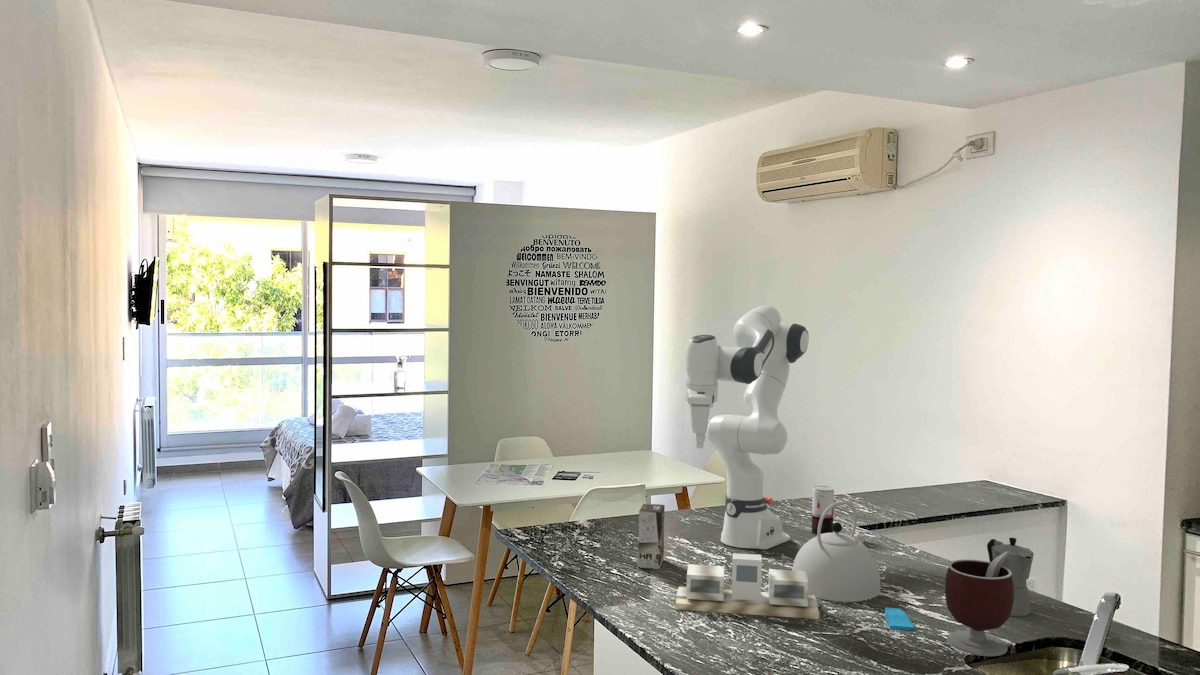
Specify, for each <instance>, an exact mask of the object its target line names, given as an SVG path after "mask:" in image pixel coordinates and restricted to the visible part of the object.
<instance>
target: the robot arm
mask: <svg viewBox="0 0 1200 675" xmlns="http://www.w3.org/2000/svg"><path fill="white" fill-rule="evenodd" d="M732 331H733V332H732V334H733V339H734V342H735V344H736V345H737V346H724V345H723V346H721V345H720V344H718V342H717V340H718V339H717V337H716V336H715V335H712V334H700V335H699V334H697V335H694V336H692V337H690V338H689V340H688V342H687V346H686V348H687V349H686V355H685V356H686V358H685V370H686V378H685V379H686V380H685V391H684V392H685V396H684V398H685V399H684V400H685V401H686V402H687V405H689V407H690V420H691V428H692V433H693V434H695V440H696V449H703V448H704V442H705V440H706V436H707V439H708V441H709V443H710V445H712V446H713V447H714V448H715V449H716V450H717V451H718V453H719V455H720V456H721V458H722V461H723V464H724V467H725V471H726V472H725V473H726V495H725V500H724V502H725V503H724V507H725V513H724V519H723V527H722V531H721V532H720V533H721V534H720V536H721V537H720V542H721V543H722V544H724V545H727V546H730V547H734V548H740V549H741V548H742V549H758V550H768V549H771V548H773V547H775V546H778V545H781V544H783V543H786V542H789V541H790V540H791V536H790V535H789V534H787V533H785V532H784V531H783V523H782V520H781V518H779V517H778V516H777V515H776V514H774V513H773V512H772V511H771V510H770V509H769V508H768V505H772V504H773V503H774V499H773V497H769V496H766V497H764V478H765V477H764V476H765V475H764V473H763V470H762V469H761V468H760V466H758V465H757V464H756V463H754V462H753V460H752V459H751V457H750V454H756V455H762V456H764V455H776V454H780V453H781V452H782V451H783V450H784V449H785V447H786V445H787V443H788V432H787V429H786V427H785V425H784V424H783V423H782V422H781V420H780V419H779V416H778V409H779V405H780V402H781V399H782V396H783V394H784V392H785V389H786V386H787V383H788V380H789V374H790V370H791V369H790V364H795V363H796V361H798V359H800V358H802V356H804V354H805V353H806V352H807V350H808V346H809V341H810V337H809V331H808V330H807V328H806V327H805V326H803V325H801V324H798V323H794V322H793V323H790V322H785V321H782V320H781V315H780V313H779V311H778V310H777V309H776V308H774V306H771V305H767V304H766V305H765V304H764V305H760V306H757V307H754V308H752V309H751V310H749V311H747V312H746V313H745V314H744V315H742V316H740V318H738V320H737V321H736V322H735V324H734V327H733V330H732ZM718 381H721V382H723V381H724V382H731V383H733V382H734V383H740V384H747V386H746V389H745V391H744V393H743V403H744V405H745V407H746V408H747V409H748V411H750V412H751V414H750V415H747V416H746V415H739V414H737V415H736V414H729V413H727V414H726V413H725V414H720V415H719V414H718V415H714V416H713V417H712V418H711V419H710V410H711V408H713V407H714V403H718V401H719V382H718ZM749 453H750V454H749ZM767 504H768V505H767Z"/></svg>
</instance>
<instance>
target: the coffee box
mask: <svg viewBox="0 0 1200 675" xmlns="http://www.w3.org/2000/svg"><path fill="white" fill-rule="evenodd" d="M637 549H638V550H637V552H638V555H637V568H639V567H640V568H639V569H642V568H643V569H651V568H652V569H653V570H660V569H661V567H662V564H663V562H664V561H665V560H664V559H665V504H656V503H655V504H654V503H653V504H652V503H651V504H650V503H649V504H647V503H643V504H642V506H641V507H640V509H639V510H638V547H637Z"/></svg>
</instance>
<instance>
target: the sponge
mask: <svg viewBox="0 0 1200 675" xmlns="http://www.w3.org/2000/svg"><path fill="white" fill-rule="evenodd" d="M883 612H884V614H885V615H884V616H885V617H886V620H887V621H886V622H887V623H888V627H889V629H892V630H903V631H915V630H916V627H915V625H914V624H913V623H912V621H911V619H910V618H909V616H908V615H907V613H906V612H905V611H904V610H902V609H901V608H898V607H887V606H886V607H885V608H884V610H883Z"/></svg>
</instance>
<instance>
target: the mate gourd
mask: <svg viewBox="0 0 1200 675" xmlns="http://www.w3.org/2000/svg"><path fill="white" fill-rule="evenodd" d="M1007 555H1010V553H1009V552H1008V551H1007V552H1005V553H1003V554H1001V555H1000V556H998V557H996V558H995V559H994V560H993V561H992V562H990V561H986V560H978V559H956V560H953V561H950V562H949V563H948V568H947V571H946V575H945V581H944V596H945V603H946V607H947V610H948V612H950V614H951V615H952V617H953V619H954V620H955V621H956V622H958V623H960V624H961V625H964V626H965V627H968V628H969V629H970V630H958V631H957V630H956V631H953V632H950V633H949V634H947V637H946V641H947V643H948V644H949V645H950V646H951V647H952V648H954V649H956V650H958V651H960V652H962V651H963V652H962V653H965V652H966V654H969V653H971V654H970V655H974V656H979V657H980V656H981V657H982V656H983V657H998V656H999V657H1000V656H1003V655H1005V654H1006V653H1007V652H1008V647H1009V646H1008V644H1007V642H1006V641H1004V640H1002V639H1001V638H1000V637H997V636H995V635H992V634H988V633H986V632H985V631H988V630H995V629H1000V628H1001V627H1002V626H1004V624H1005V623H1006V622H1007V621H1008V620H1009V619H1010V618H1011V616H1010V615H1011V612H1012V607H1013V601H1014V586H1013V579H1012V572H1011V570H1009V569H1008V568H1006V567H1004V566H1002V563H1003V561H1004V559H1005V558H1006V557H1007Z"/></svg>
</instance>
